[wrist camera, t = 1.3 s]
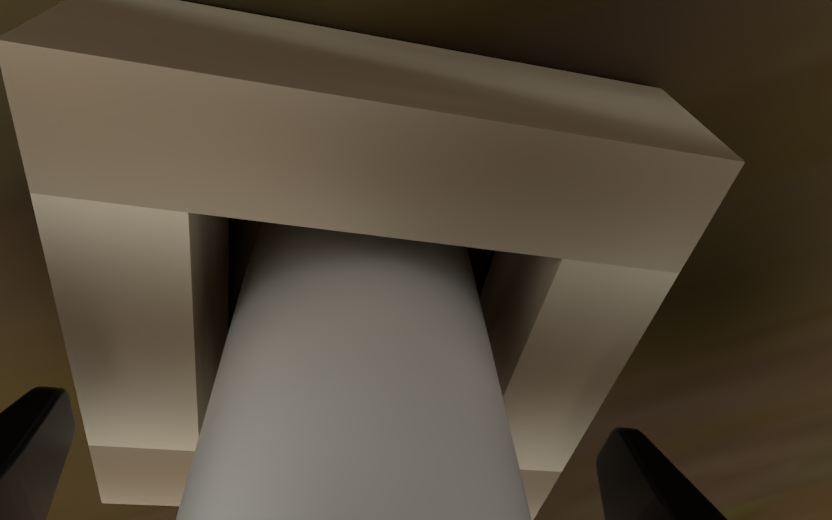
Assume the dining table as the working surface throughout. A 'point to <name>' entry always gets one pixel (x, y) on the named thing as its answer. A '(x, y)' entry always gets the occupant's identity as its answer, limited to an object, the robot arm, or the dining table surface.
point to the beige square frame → (337, 205)
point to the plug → (355, 389)
